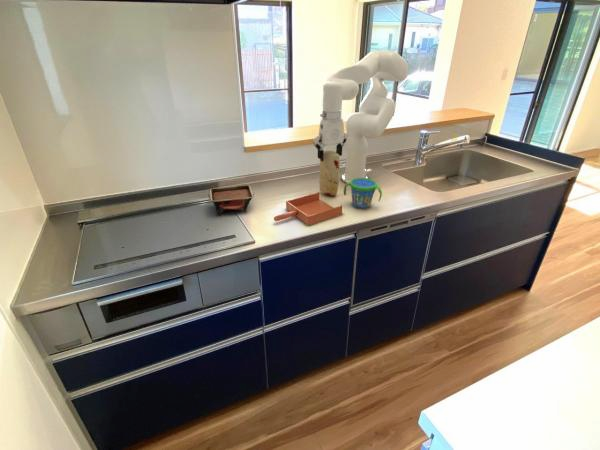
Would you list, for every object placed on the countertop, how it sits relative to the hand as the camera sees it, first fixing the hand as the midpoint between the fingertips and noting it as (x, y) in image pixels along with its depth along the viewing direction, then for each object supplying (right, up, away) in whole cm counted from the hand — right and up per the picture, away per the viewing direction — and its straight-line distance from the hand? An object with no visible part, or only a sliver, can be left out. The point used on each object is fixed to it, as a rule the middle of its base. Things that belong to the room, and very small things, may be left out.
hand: (329, 156), depth 145 cm
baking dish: (-41, -22, -1) cm, 46 cm away
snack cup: (+13, -21, 0) cm, 24 cm away
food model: (0, -15, +9) cm, 18 cm away
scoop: (-11, -25, -8) cm, 28 cm away
